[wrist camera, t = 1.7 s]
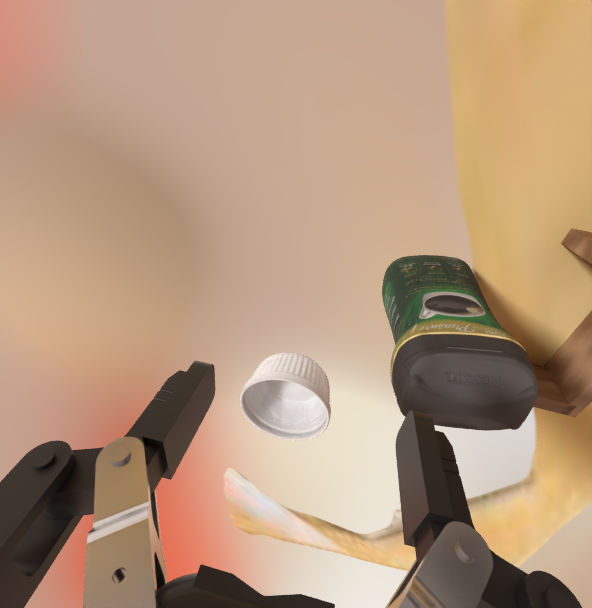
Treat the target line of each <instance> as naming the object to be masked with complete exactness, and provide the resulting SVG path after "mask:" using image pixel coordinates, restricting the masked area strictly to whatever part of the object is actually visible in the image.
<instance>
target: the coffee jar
mask: <svg viewBox="0 0 592 608" xmlns="http://www.w3.org/2000/svg"><path fill="white" fill-rule="evenodd" d="M382 294H383V302H384V306H385V310H386V314H387V317H388V320H389V323H390V326H391V329H392V333H393V337H394V340H395V345H396V346H395V349H394V352H393V355H392V360H391V382H392V385H393V389H394V392H395V395H396V398H397V403H398V405H399V407H400V410H401V412H402V414H403V415H404V416H405V417H406V416H407V414H408V412H409V411H410V410H411V411H416V412H420V413H425V414H429V415H431V417H432V419H433V424H434V425H438V426H445V427H454V428H464V429H475V430H503V429H513V430H514V429H518V428H519V427H520V426H521V424H522V423H523V422H524V421H525V419H526V418H527V416H528V414H529V413H530V411H531V409H532V408H533V406H534V404H535V401H536V399H537V396H538V392H539V388H538V382H537V377H536V374H535V371H534V369H533V367H532V365H531V362H530V360H529V357H528V355H527V353H526V350H525V349H524V347H523V346H522V345H521V344H520V343H519V342H518V341H517V340H516V339H515V338H514V337H513V336H511V335H510V334H509V333H507V332H506V331H505V330H504V329H503V328H502V327H501V326H500V325H499V323H498V322H497V321H496V319H495V318H494V316H493V314H492V313H491V311H490V309H489V307H488V305H487V303H486V301H485V299H484V297H483V295H482V293H481V290H480V288H479V285H478V283H477V280H476V278H475V276H474V274H473V272H472V270H471V269H470V267H469V266H468V264H466V263H465V262H464V261H462V260H460V259H457V258H452V257H445V256H429V255H422V256H420V255H419V256H408V257H402V258H400V259H397V260H396V261H394V262H393V263H392V264H391V265H390V266H389V267H388V268H387V270H386V273H385V276H384V280H383V288H382Z"/></svg>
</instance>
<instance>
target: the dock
mask: <svg viewBox="0 0 592 608" xmlns="http://www.w3.org/2000/svg"><path fill="white" fill-rule="evenodd" d="M561 244H562V245H564V246H565V247H567V248H568V249H570V250H571V251H573V252H574V253H576V254H577V255H579V256H580V257H582V258H583V259H584V260H586V261H587V262H589V263H590V264H592V233H590V232H585V231H580V230H576V229H571V230H570V231H569V233H568V234H567V236H566V237H565V239H564V240H563V242H562V243H561ZM531 365H532V364H531ZM532 367H533V369H534V371H535V374H536V377H537V382H538V388H539V392H538V396H537V399H536V401H535V404H534V406H533V407H537V408H541V409H545V410H549V411H553V412H557V413H561V414H564V415H568V416H572V417H576V416H577V415H578V414H579V413H580V412H581V411H582V410H583V409H584V408H585V407H586V406H587V405H588V404H589V403H591V402H592V311H591V312H590V313H589V315H588V316H587V317H586V318H585V319H584V320H583V322H582V323H581V324H580V325H579V326H578V328H577V329H576V330H575V331H574V332H573V333H572V335H571V336H570V337H569V338H568V339H567V340H566V342H565V343H564V344H563V345H562V346H561V348H560V349H559V350H558V351H557V352H556V353H555V355H554V356H553V357H552V358H551V359H550V360H549V362H548V363H547V364H546V365H545V366H544V367H540V366H536V365H532Z"/></svg>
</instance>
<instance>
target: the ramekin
mask: <svg viewBox="0 0 592 608" xmlns="http://www.w3.org/2000/svg"><path fill="white" fill-rule="evenodd" d="M240 406H241V409H242V411H243V413H244V415H245V416H246V418H247V419H248V420H249V421H250V422H251V423H252V424H253V425H254V426H255V427H257V428H258V429H260V430H261V431H263V432H265V433H267V434H269V435H271V436H274V437H277V438H281V439H286V440H295V441H296V440H297V441H298V440H307V439H311V438H314V437H317V436H318V435H320V434H321V433H323V432H324V430H326V428H327V427H328V424H329V419H330V414H331V409H330V404H329V382H328V379H327V376H326V375H325V373H324V371H323V370H322V368H321V367H320V366H319V365H318V364H317V363H315V362H314V361H313V360H311V359H310V358H308V357H306V356H303V355H300V354H296V353H279V354H275V355H272V356H270V357H268V358H267V359H265V360H264V361H263V362H261V364H260V365H259V366H258V368H257V369H256V371H255V372H254V374H253V375H252V377H251V379H250V380H248V381H247V383H246V384H245V385H244V387H243V389H242V392H241V395H240Z"/></svg>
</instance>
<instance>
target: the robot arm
mask: <svg viewBox="0 0 592 608" xmlns="http://www.w3.org/2000/svg"><path fill="white" fill-rule="evenodd" d="M214 395H215V373H214V365H213V364H208V363H204V362H200V361H195V362H194V363H193V364H192V365H191V366H190V368H189V369H188V371H187V372H184V371H178V372H177V373H175V374H174V375H172V376H171V377H170V378H168V380H167V381H166V382H165V384H164V385H163V386H162V388H161V390H160V391H159V392H158V393H157V394H156V396H155V397H154V399H153V400H152V401H151V402H150V404H149V405H148V406H147V408H146V409H145V411H144V412H143V413H142V414H141V416H140V417H139V418H138V420H137V421H136V422H135V424H134V425H133V427H132V428H131V429H130V430H129V432H128V433H127V434H126V435H125V436H124V437H122V438H119V439H116V440H115V441H112V442H111V443H109V444H108V445H107V446H105V447H103V448H95V449H82V450H72V449H71V447H70V446H69V445H68V444H67V443H66V442H63V441H50V442H47V443H44V444H41V445H39V446H37V447H35V448H34V449H33V450H31V451H30V452H28V453H27V454H26V455H25V456H24V457H23V458H22V459H21V460H20V461H19V463H18V464H17V465H16V466H15V467H14V468H13V469H12V470H11V471H10V472H9V474H7V476H6V477H5V478H4V479H3V480H2V481H1V482H0V608H24V607H25V605H26V604H27V602H28V601H29V599H30V597H31V596H32V594H33V593H34V591H35V589H36V588H37V587H38V585H39V583H40V582H41V580H42V579H43V577H44V576H45V574H46V573H47V571H48V569H49V568H50V566H51V565H52V563H53V562H54V560H55V559H56V557H57V555H58V554H59V552H60V551H61V549H62V548H63V546H64V544H65V543H66V541H67V540H68V538H69V536H70V535H71V534H72V532H73V531H74V529H75V527H76V526H77V524H78V523H79V521H80V520H81V518H82V517H83V515H89V514H94V522H93V528H92V530H91V531H90V532H89V534H88V537H87V545H86V561H85V581H84V600H83V608H335V604H332V603H329V602H325V601H322V600H319V599H315V598H312V597H308V596H305V595H302V594H296V595H278V596H263V595H261V594H260V593H258V592H257V591H255V590H254V589H253V588H251V587H250V586H249V585H247V584H246V583H244V582H243V581H242V580H240V579H239V578H238V577H236V576H235V575H233V574H231V573H228V572H225V571H221V570H218V569H215V568H211V567H208V566H204V565H200V568H199V571H198V573H196V574H189V575H185V576H182V577H179V578H176V579H174V580H172V581H170V582H168V583H167V576H166V567H165V560H164V554H163V549H162V543H161V534H160V525H159V516H158V507H157V498H156V487H157V485H158V483H159V481H160V480H161V478H162V477H163V478H167V479H172V477H173V475H174V473H175V471H176V469H177V467H178V466H179V464H180V462H181V460H182V458H183V456H184V454H185V452H186V451H187V449H188V447H189V445H190V443H191V441H192V439H193V437H194V436H195V434H196V432H197V430H198V428H199V426H200V424H201V422H202V421H203V419H204V417H205V415H206V413H207V411H208V409H209V407H210V405H211V403H212V401H213V398H214ZM396 457H397V468H398V479H399V490H400V499H401V500H400V501H401V512H402V522H403V533H404V544H405V545H409V546H413V547H415V550H416V558H417V559H416V560H415V562H414V563H413V565H412V566H411V568H410V570H409V571H408V573H407V574H406V576H405V578H404V579H403V581H402V582H401V584H400V585H399V587H398V589H397V590H396V592H395V594H394V595H393V597H392V598H391V600H390V601H389V603H388V605H387V606H386V608H582V607H581V605H580V603H579V601H578V600H577V599H576V597H575V596H574V595H573V593H572V592H571V591H570V590H569V589H568V588H567V587H566V586H565V585H564V584H563V583H562V582H561V581H560V580H558V579H557V578H556V577H554V576H552V575H551V574H549V573H546V572H543V571H534V572H532V573H530V574H526V573H525V572H523V571H522V570H520V569H518V568H517V567H515V566H514V565H512V564H510V563H509V562H507V561H505V560H504V559H502V558H501V557H499V556H498V555H496V554H495V553H494V552H492V551H491V550H490V549H489V547H488V545H487V543H486V542H485V540H484V539H483V538H482V537H481V535H480V534H479V533H478V532H477V531H476V530H475V528H474V526H473V523H472V519H471V516H470V512H469V508H468V504H467V500H466V497H465V493H464V489H463V485H462V481H461V478H460V476H459V470H458V466H457V464H456V459H455V455H454V451H453V447H452V446H451V444H450V442H449V440H448V439H447V437H446V436H445V434H444V433H443V432H439V431H435V428H434V424H433V419H432V417H431V415H429V414H425V413H420V412H416V411H411V410H410V411H409V412H408V414H407V416H406V418H405V420H404V422H403V424H402V426H401V428H400V430H399V432H398V435H397V439H396Z"/></svg>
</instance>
